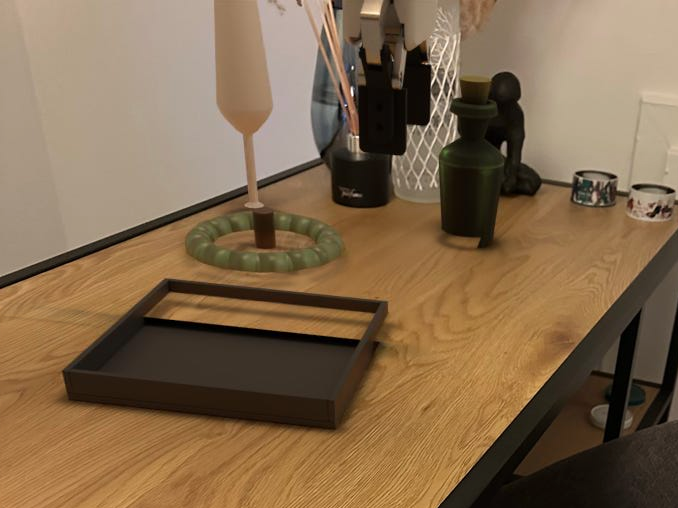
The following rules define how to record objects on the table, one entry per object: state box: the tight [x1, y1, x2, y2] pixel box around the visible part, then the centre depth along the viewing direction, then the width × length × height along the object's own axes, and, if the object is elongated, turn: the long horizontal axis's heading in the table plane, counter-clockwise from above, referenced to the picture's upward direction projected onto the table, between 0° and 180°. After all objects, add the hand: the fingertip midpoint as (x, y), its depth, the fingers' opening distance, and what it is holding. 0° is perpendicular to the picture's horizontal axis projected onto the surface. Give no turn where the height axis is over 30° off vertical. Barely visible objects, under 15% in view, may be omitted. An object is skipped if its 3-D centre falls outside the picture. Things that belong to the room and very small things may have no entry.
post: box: [251, 207, 277, 250], centre depth 108 cm, size 8×8×5 cm
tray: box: [61, 277, 389, 430], centre depth 87 cm, size 23×23×3 cm
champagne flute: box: [213, 0, 274, 209], centre depth 114 cm, size 7×7×24 cm
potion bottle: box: [437, 75, 505, 249], centre depth 114 cm, size 8×8×18 cm
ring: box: [184, 211, 346, 274], centre depth 109 cm, size 18×18×3 cm
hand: (396, 137), depth 68 cm, fingers open, 9 cm apart
